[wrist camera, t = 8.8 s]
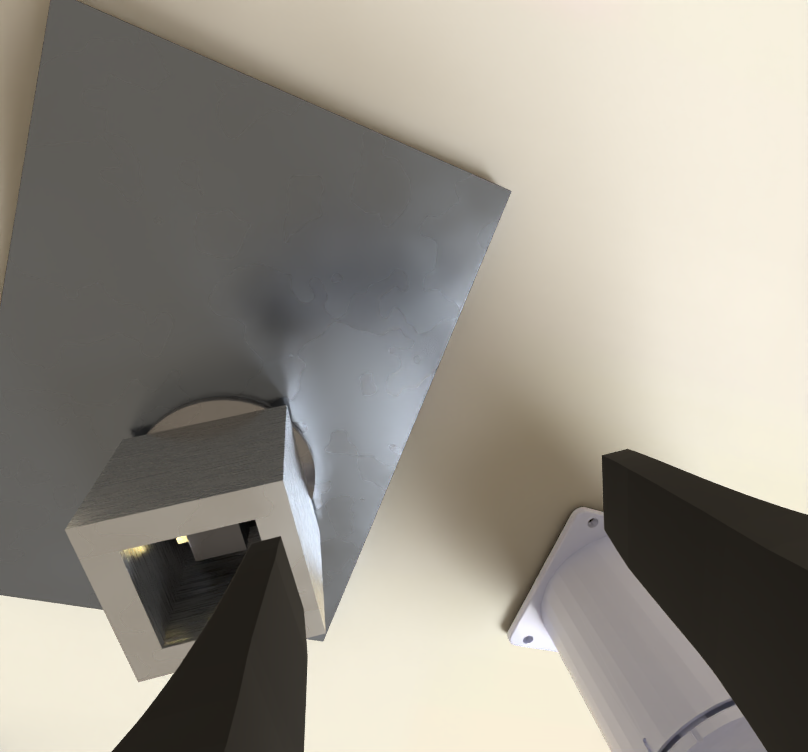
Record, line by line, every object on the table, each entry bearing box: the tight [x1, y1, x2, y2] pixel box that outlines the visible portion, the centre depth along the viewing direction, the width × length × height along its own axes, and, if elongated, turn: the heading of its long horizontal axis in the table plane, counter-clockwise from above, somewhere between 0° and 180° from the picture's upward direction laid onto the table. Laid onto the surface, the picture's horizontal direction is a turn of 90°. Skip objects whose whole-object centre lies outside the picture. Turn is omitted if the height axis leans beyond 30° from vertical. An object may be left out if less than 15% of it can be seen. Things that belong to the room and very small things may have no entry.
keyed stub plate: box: [0, 0, 511, 641], centre depth 18 cm, size 14×20×4 cm
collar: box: [65, 405, 326, 682], centre depth 18 cm, size 6×6×5 cm
